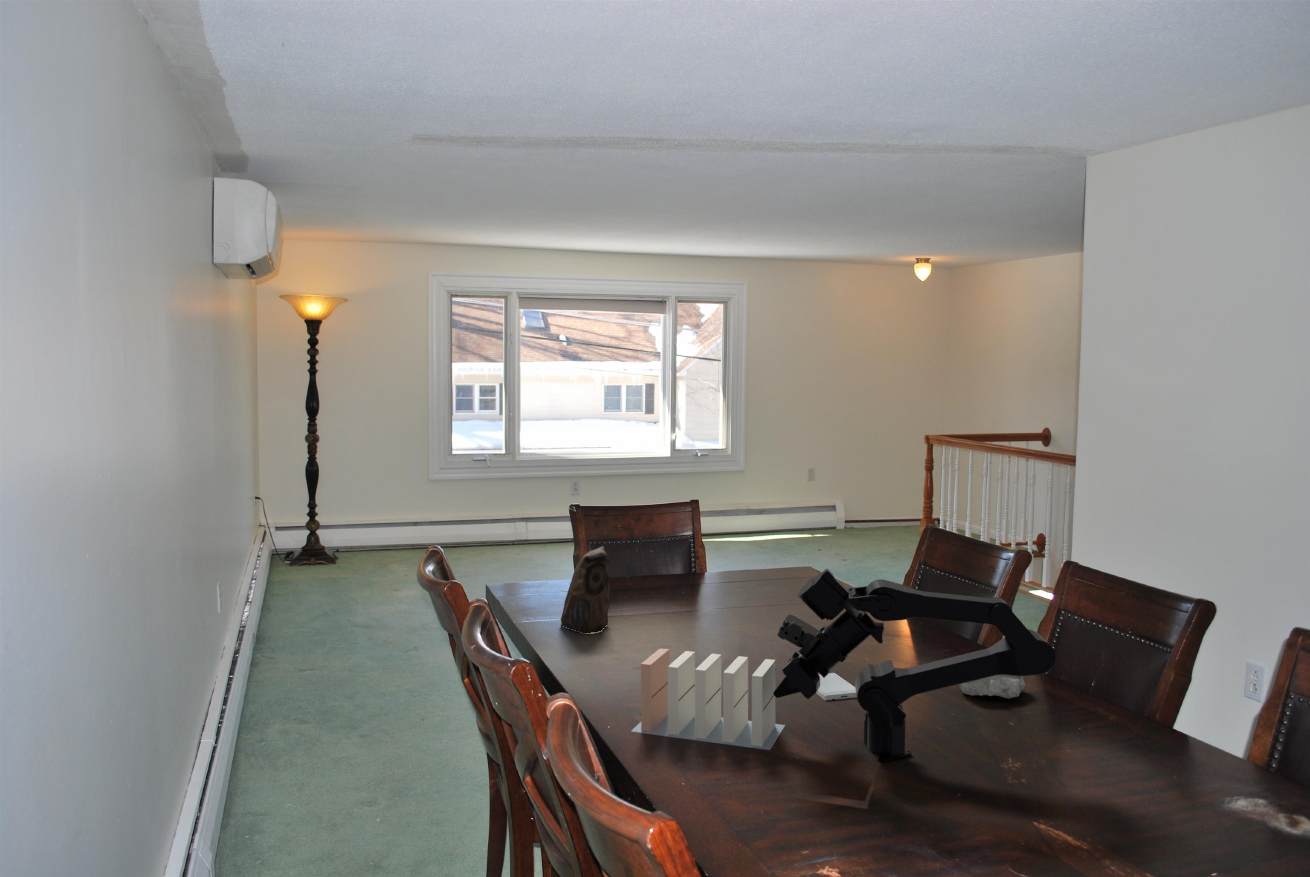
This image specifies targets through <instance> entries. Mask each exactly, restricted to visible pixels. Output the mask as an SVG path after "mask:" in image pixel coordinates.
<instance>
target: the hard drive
mask: <svg viewBox="0 0 1310 877" xmlns="http://www.w3.org/2000/svg"><path fill="white" fill-rule="evenodd" d="M818 674H819V676H820V687H819V689H818V691H817V692H816V693H815V694H816V695H817V696H818V697H819V698H821V699H823V700H824V701H833V700H832V699H835V700H845V699H853V698H857V694H856V689H855V685H852V684H851V683H850V682H848V681H847V680H845V679H844V678H842V677H841V676H839V675H838V674H837V673H835V672H829V674H828V675H827V676H826V677H825V678H823V677H822V676H821V674H820V673H818Z"/></svg>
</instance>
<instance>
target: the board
mask: <svg viewBox="0 0 1310 877" xmlns="http://www.w3.org/2000/svg"><path fill="white" fill-rule="evenodd" d="M785 727H786V724H779V723H775V727H774V729H773V730H772V732H771V733H770V735H769V736H768V738H767V740H766V741H765V743H764V744H763V746H755V745H752V720H748V723H747V725H746V726H745V727H744V729H743V730H742V732H741V733H740V734H739V736H738V737H737V738H736V740H735V741H734V743H732V742H725V741H723V716H721V720H720V721H719V723H718V724H717V725H716V726H715V728H714V729H713V730H712V731H711V733H710V734H709V735H708V736H707V737H706V739H702V738H695V717H694V718H693V719H692V720H691V721H690V722H689V723H688V725H687V726H686V727H685V728H684V729H683V730H682V731H681V732H680V733H679V735H672V734H668V715H667V716H666V717H665V718H664V719H663V720H662V721H661V722H660V723H659V724H658V725H657V726H656V727H655V728H654V729H653V730H652V731H651V732H649V731H641V721H640V722H639V723H638V724H636V726H635V727H634V728H633V729H631V732H632V733H638V734H639V733H640V734H645V735H653V736H654V735H655V736H660V737H667V738H676V739H681V740H683V739H684V740H689V741H691V740H692V741H698V742H699V741H700V742H706V743H714V744H722V745H729V746H736V747H744V748H751V749H752V748H753V749H759V750H767V751H771V749H772V748H773V746H774V745H775V743H776V741H777V740H778V738H779V736H780V735H781V733H782V732H783V730H784V728H785Z"/></svg>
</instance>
